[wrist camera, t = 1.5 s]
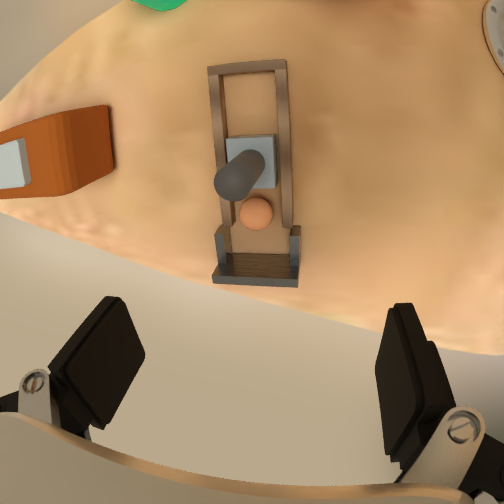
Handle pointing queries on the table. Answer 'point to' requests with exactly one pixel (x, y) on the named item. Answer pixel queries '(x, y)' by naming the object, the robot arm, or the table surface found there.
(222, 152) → the frame
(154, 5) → the candle
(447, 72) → the table surface
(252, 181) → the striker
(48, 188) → the alarm clock
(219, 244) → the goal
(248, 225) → the ball
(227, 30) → the table surface
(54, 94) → the table surface
